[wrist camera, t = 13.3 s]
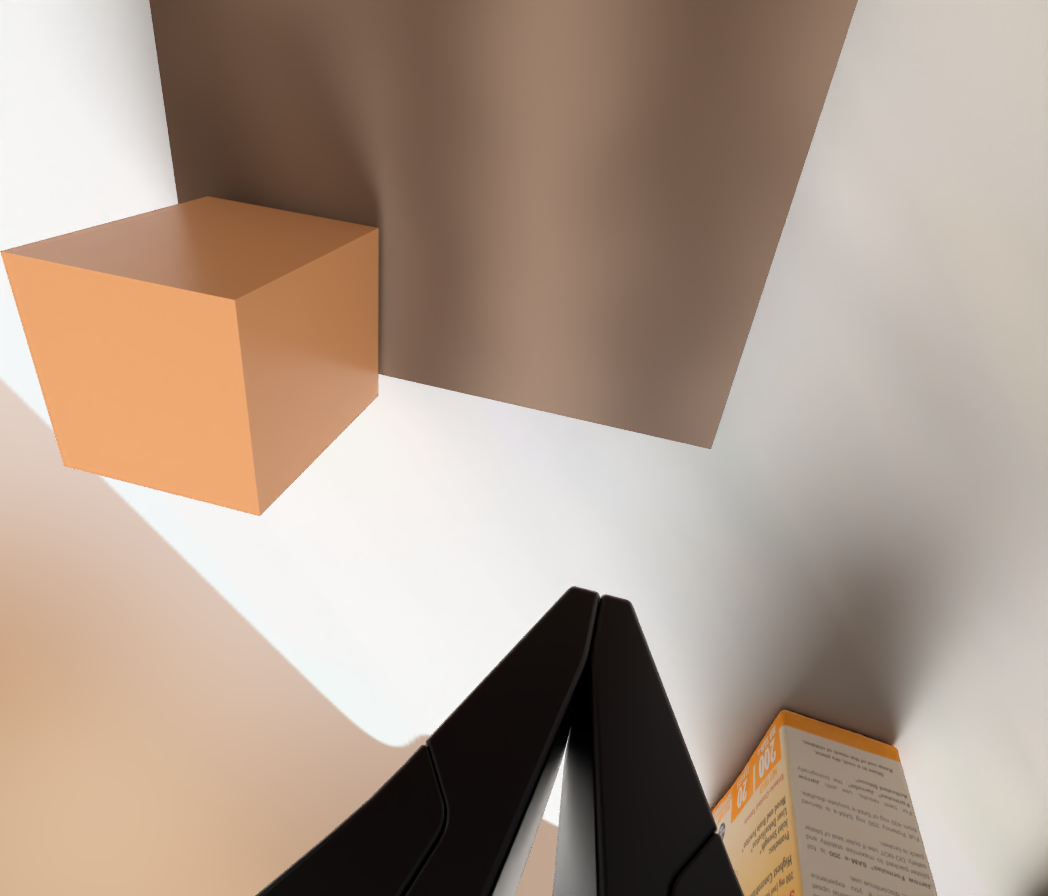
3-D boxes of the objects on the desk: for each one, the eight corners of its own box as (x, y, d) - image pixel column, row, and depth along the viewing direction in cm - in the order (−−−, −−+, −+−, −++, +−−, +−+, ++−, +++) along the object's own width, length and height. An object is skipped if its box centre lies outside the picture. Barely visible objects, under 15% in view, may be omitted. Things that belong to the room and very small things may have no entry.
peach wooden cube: (378, 228, 18) (235, 299, 13) (378, 395, 21) (259, 515, 15) (207, 196, 19) (0, 251, 13) (229, 362, 22) (64, 465, 16)
